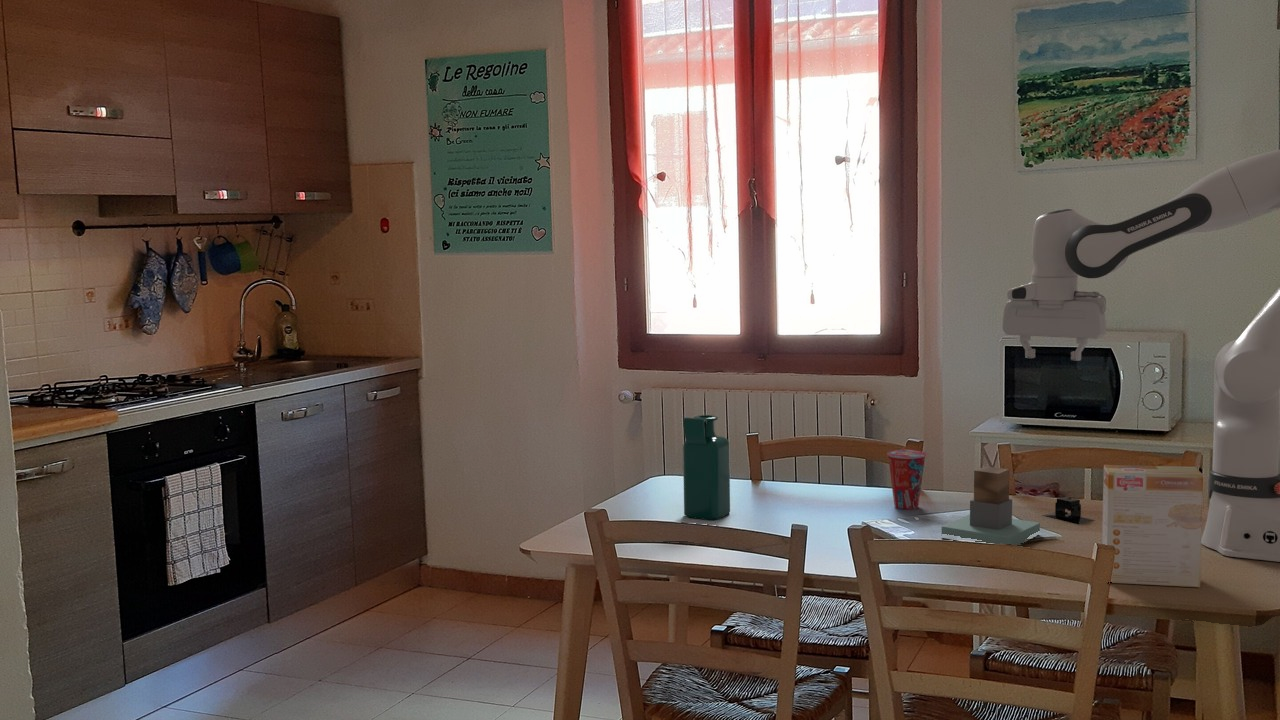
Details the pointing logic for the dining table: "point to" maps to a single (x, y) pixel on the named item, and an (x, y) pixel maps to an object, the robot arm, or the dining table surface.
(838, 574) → the dining table surface
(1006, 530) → the base slab
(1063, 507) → the black rectangular block
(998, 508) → the charcoal block
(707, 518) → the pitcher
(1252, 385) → the robot arm
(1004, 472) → the walnut block
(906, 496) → the cup
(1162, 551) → the coffeecake box
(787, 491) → the dining table surface
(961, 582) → the dining table surface
